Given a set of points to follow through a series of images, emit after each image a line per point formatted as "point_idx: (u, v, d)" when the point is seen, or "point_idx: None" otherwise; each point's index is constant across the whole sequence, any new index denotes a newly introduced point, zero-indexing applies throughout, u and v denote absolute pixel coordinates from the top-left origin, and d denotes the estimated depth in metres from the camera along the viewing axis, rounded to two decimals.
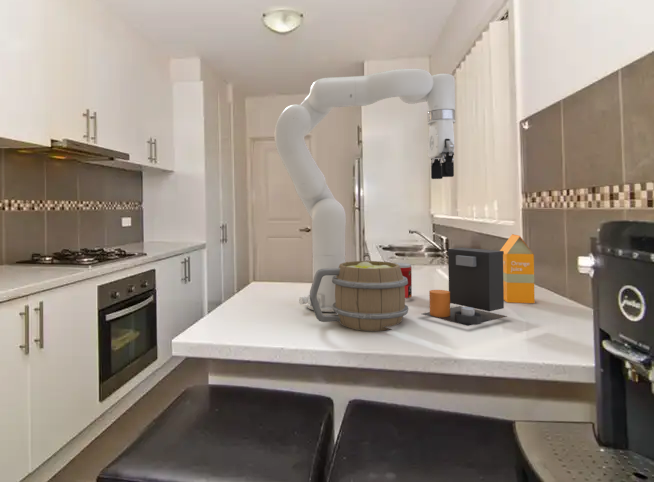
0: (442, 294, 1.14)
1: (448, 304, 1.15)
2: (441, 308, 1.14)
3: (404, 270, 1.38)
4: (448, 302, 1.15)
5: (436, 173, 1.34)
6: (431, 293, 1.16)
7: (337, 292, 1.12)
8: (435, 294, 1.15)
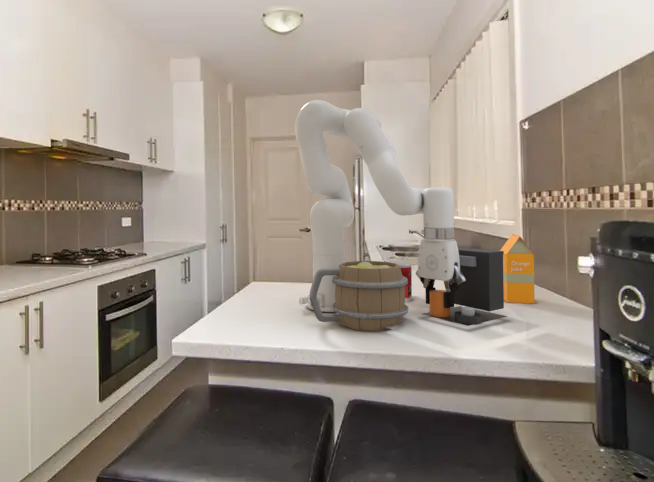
0: (442, 294, 1.14)
1: None
2: (441, 308, 1.14)
3: (404, 270, 1.38)
4: None
5: None
6: (431, 293, 1.16)
7: (337, 292, 1.12)
8: (435, 294, 1.15)
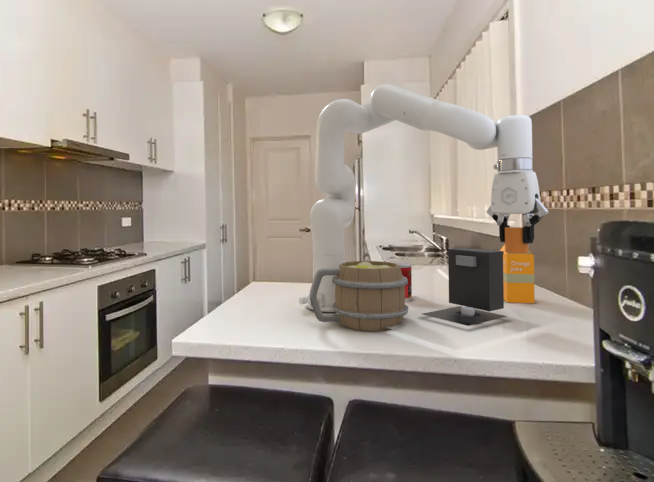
0: (521, 229, 1.07)
1: None
2: (520, 244, 1.07)
3: (404, 270, 1.38)
4: None
5: None
6: (508, 229, 1.09)
7: (337, 292, 1.12)
8: (513, 229, 1.08)
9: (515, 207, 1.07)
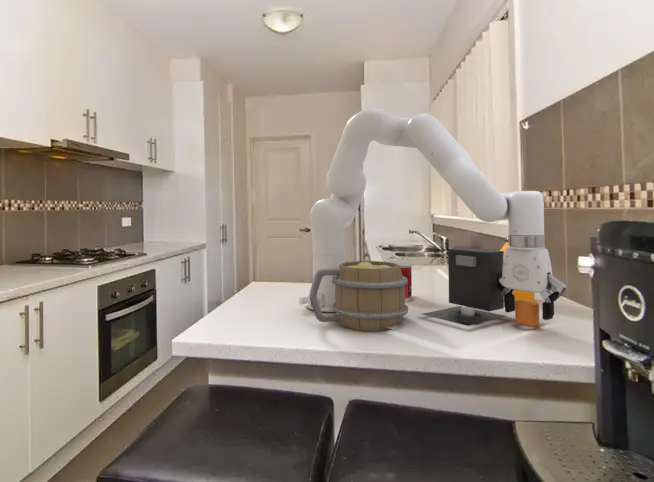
0: (532, 305, 1.06)
1: (538, 316, 1.06)
2: (531, 320, 1.06)
3: (404, 270, 1.38)
4: (538, 314, 1.06)
5: (510, 305, 1.11)
6: (518, 304, 1.08)
7: (337, 292, 1.12)
8: (523, 305, 1.07)
9: (527, 285, 1.05)
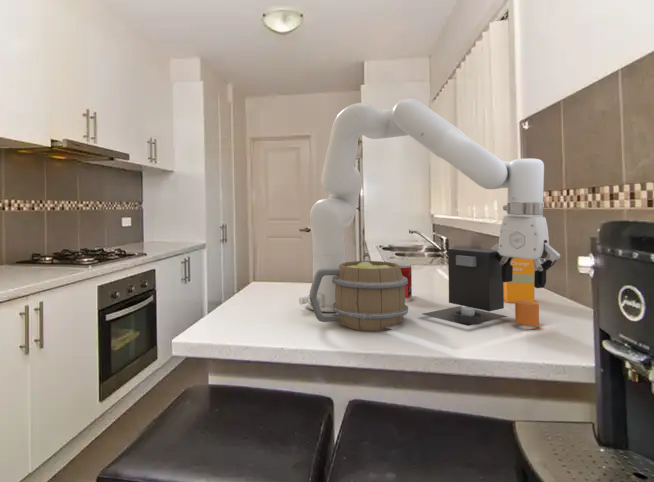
0: (532, 305, 1.06)
1: (538, 316, 1.06)
2: (531, 320, 1.06)
3: (404, 270, 1.38)
4: (538, 314, 1.06)
5: (508, 275, 1.11)
6: (518, 304, 1.08)
7: (337, 292, 1.12)
8: (523, 305, 1.07)
9: (523, 252, 1.05)
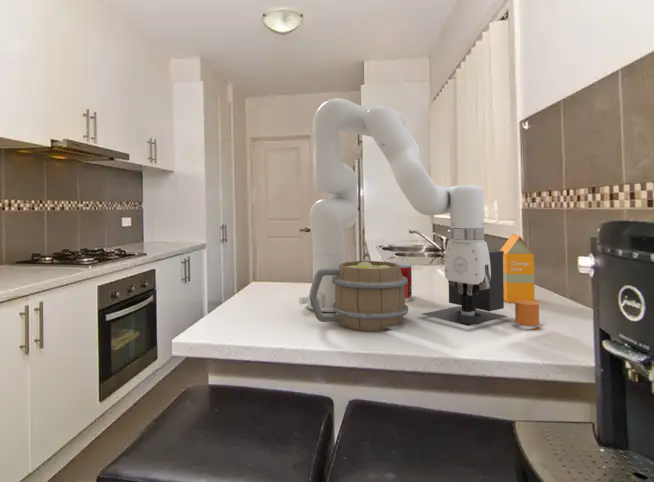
0: (532, 305, 1.06)
1: (538, 316, 1.06)
2: (531, 320, 1.06)
3: (404, 270, 1.38)
4: (538, 314, 1.06)
5: None
6: (518, 304, 1.08)
7: (337, 292, 1.12)
8: (523, 305, 1.07)
9: (466, 277, 1.07)
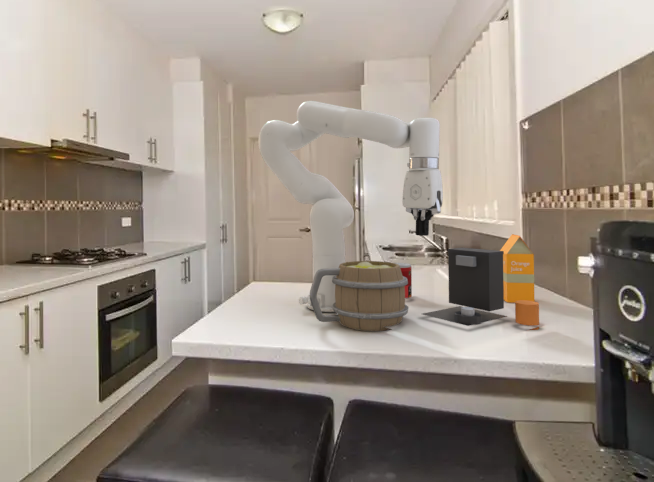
0: (532, 305, 1.06)
1: (538, 316, 1.06)
2: (531, 320, 1.06)
3: (404, 270, 1.38)
4: (538, 314, 1.06)
5: None
6: (518, 304, 1.08)
7: (337, 292, 1.12)
8: (523, 305, 1.07)
9: (420, 202, 1.16)
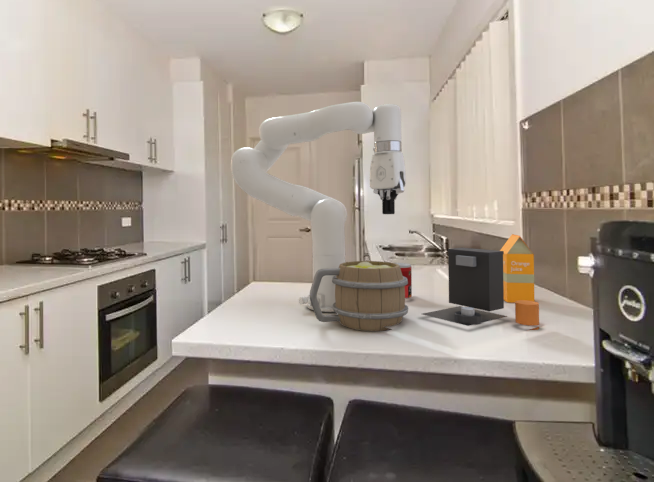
0: (532, 305, 1.06)
1: (538, 316, 1.06)
2: (531, 320, 1.06)
3: (404, 270, 1.38)
4: (538, 314, 1.06)
5: None
6: (518, 304, 1.08)
7: (337, 292, 1.12)
8: (523, 305, 1.07)
9: (385, 183, 1.25)
